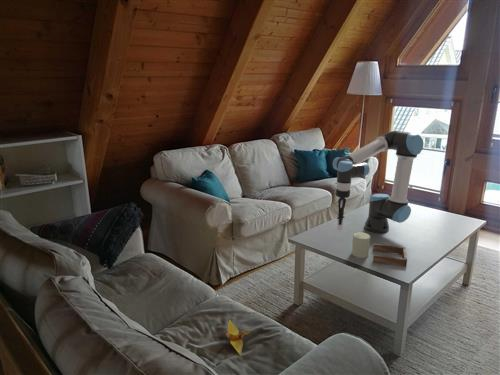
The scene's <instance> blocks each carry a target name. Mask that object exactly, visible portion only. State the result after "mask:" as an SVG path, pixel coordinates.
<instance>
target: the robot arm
mask: <svg viewBox="0 0 500 375" xmlns="http://www.w3.org/2000/svg"><path fill="white" fill-rule="evenodd" d="M423 139H424V138H422V136H421V135H420V134H417V133H414V132H408V131H402V130H392V131H388V132H385V133H383V134H381V135H380V136H377V137H376V138H375V140H373V141H371V142H369V143H368V144H366V145H364V146H362V147H360V148H358V149H356V150H355V151H353V152H351V153H349V154H347V155H345V156H344V157H343V156H342V157H341V156H340V157H338V156H337V157H335V158H334V159H333V161H332V167H333V169H334V170H337V173H336V174H337V175H336V182H335V185H336V189H335V196H336V197H338V201H337V202H338V205H337V207H338V212H337V215H338V216H337V217H336V220H337V226H336V229H337V230H340V231H343V225H344V224H343V223H344V219H345V216H344V215H345V214H344V213H345V207H346V202H347V198H349V197H350V196H351V195H350V194H351V188H352V179H353V178H361V177H362V178H363V177H365V176H368V175H369V173H370V166H369V164H368V163H367V162H364V161H366V160H368V159H369V158H372V157H373V156H375V155H377V154H380V153H381V152H387V151H388V150H393V151H395V156H396V157H397V162H396V166H395V174H394V178H393V184H392V189H391V190H392V191H391V195H389V194H387V193H374V194H371V196H370V197H369V198H370V199H369V203H368V204H369V206H368V215H367V216H368V217H367V218H366V220H365V223H364V228H365V230H367V231H368V232H372V233H376V234H377V233H378V234H379V233H381V234H382V233H383V234H384V233H387V232H389V230H390V223H389V221H388V219H389V220H391V221H392V222H395V223H399V224H401V223H404V222H406V221H407V220H408V218H409V217H410V216H411V212H412V208H411V207H410V205H409V200H408V198H407V196H408V192H409V191H408V190H409V185H410V179H411V176H412V175H411V174H412V170H413V163H414V160H415V159H416V158H417V157H418V155H420V154H421V152H422V151H423V150H424V140H423Z"/></svg>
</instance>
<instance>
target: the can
mask: <svg viewBox="0 0 500 375" xmlns="http://www.w3.org/2000/svg"><path fill="white" fill-rule="evenodd" d="M352 236H353V239H352V250H351V255H352V257H353V256H354V257H356V258H359V259H365V258H367V257H369V252H370V251H369V250H370V241H371V235H370V234H369V233H366V232H362V231H361V232H359V231H358V232H355V233H353V235H352Z"/></svg>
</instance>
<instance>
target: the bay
mask: <svg viewBox="0 0 500 375" xmlns="http://www.w3.org/2000/svg"><path fill="white" fill-rule="evenodd" d="M406 250H407V249H406V247H404V246H403V247H402V246H396V245H387V244H381V243H373V248H372V251H373V252H379V253H380V252H381V253H387V254H395V255H401V256H402V257H393V256H386V255H380V254H373V256H372V263H377V264H382V265H383V264H385V265H391V266H392V265H393V266H399V267H407V264H408V256H407V251H406Z"/></svg>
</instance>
